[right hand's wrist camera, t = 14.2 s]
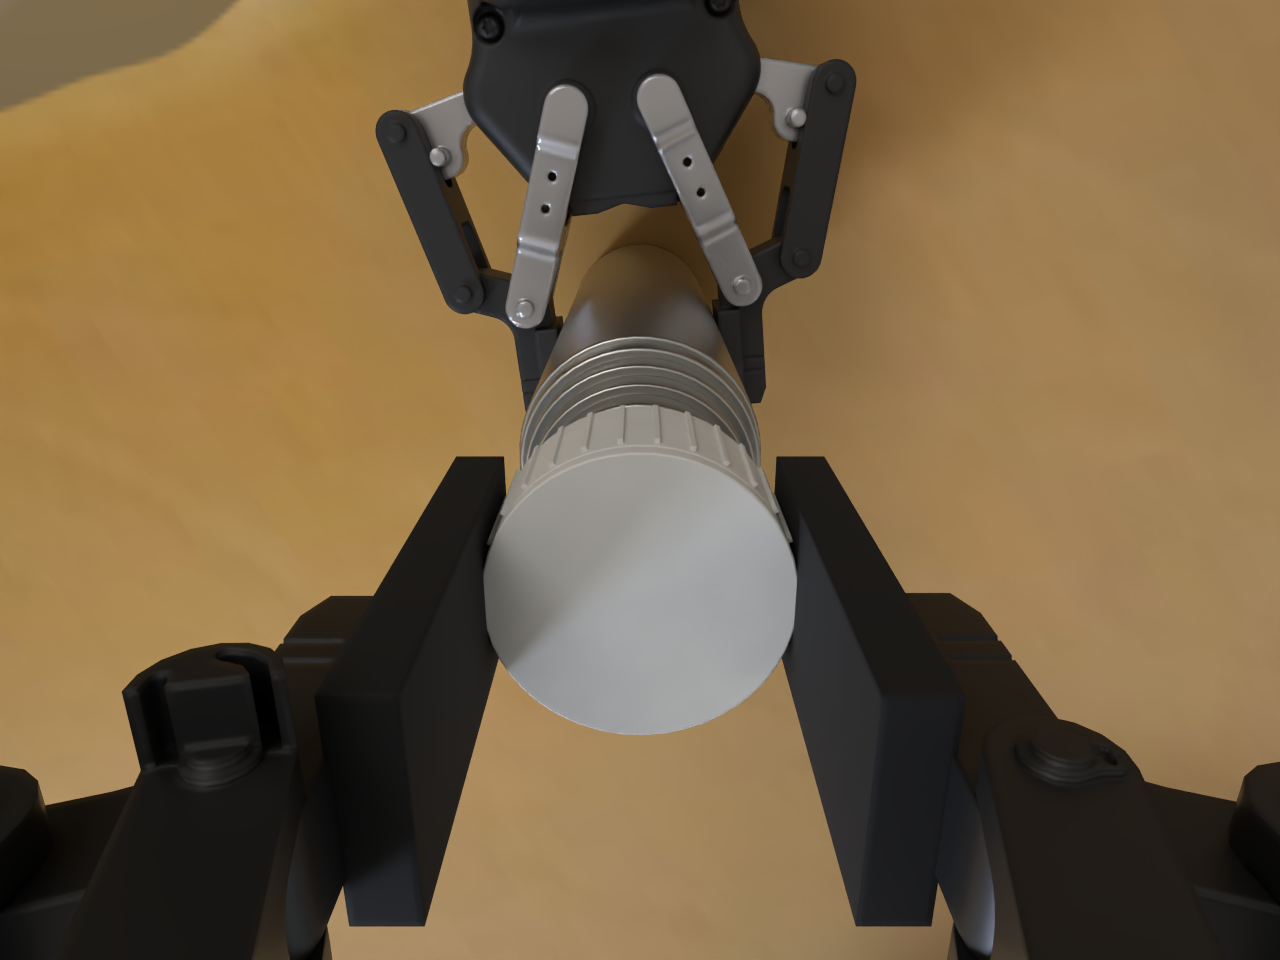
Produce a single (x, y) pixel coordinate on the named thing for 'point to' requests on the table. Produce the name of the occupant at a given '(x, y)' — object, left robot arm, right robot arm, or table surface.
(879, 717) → the right robot arm
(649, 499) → the cap
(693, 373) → the bottle
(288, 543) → the table surface
